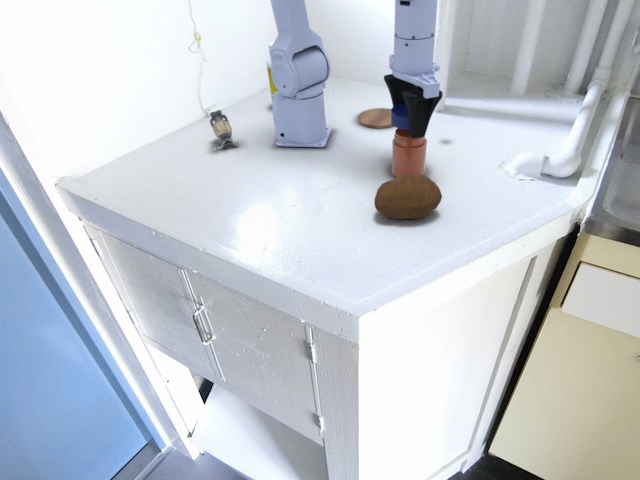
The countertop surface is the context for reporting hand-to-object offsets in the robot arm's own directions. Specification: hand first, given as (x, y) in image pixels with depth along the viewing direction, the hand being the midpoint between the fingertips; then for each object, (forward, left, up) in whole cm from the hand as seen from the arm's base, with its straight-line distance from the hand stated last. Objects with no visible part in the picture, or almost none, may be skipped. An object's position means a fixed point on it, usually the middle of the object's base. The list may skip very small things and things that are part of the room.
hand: (409, 128), depth 75 cm
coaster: (-7, +22, -8) cm, 24 cm away
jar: (0, 0, -8) cm, 8 cm away
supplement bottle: (-28, +28, -8) cm, 40 cm away
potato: (+1, -13, -8) cm, 15 cm away
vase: (-36, +9, -8) cm, 38 cm away
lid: (0, 0, +3) cm, 3 cm away
